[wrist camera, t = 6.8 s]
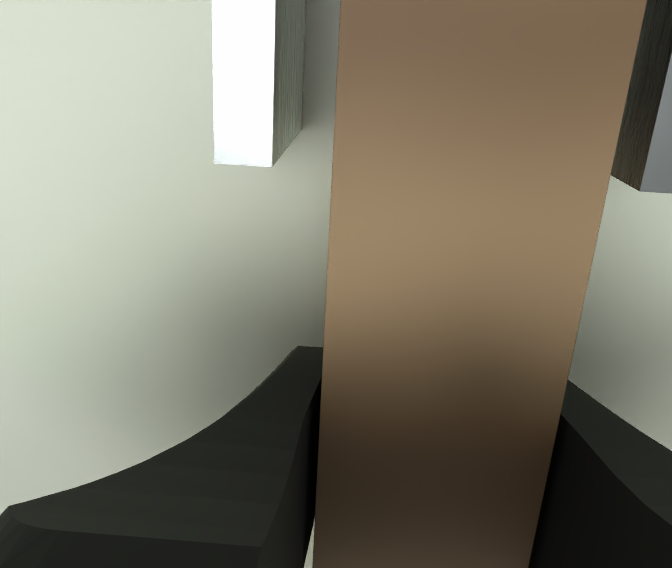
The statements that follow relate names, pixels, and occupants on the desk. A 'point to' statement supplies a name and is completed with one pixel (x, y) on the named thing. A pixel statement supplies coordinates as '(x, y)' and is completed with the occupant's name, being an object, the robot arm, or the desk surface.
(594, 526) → the robot arm
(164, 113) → the desk surface
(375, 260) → the walnut rail
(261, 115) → the bracket
